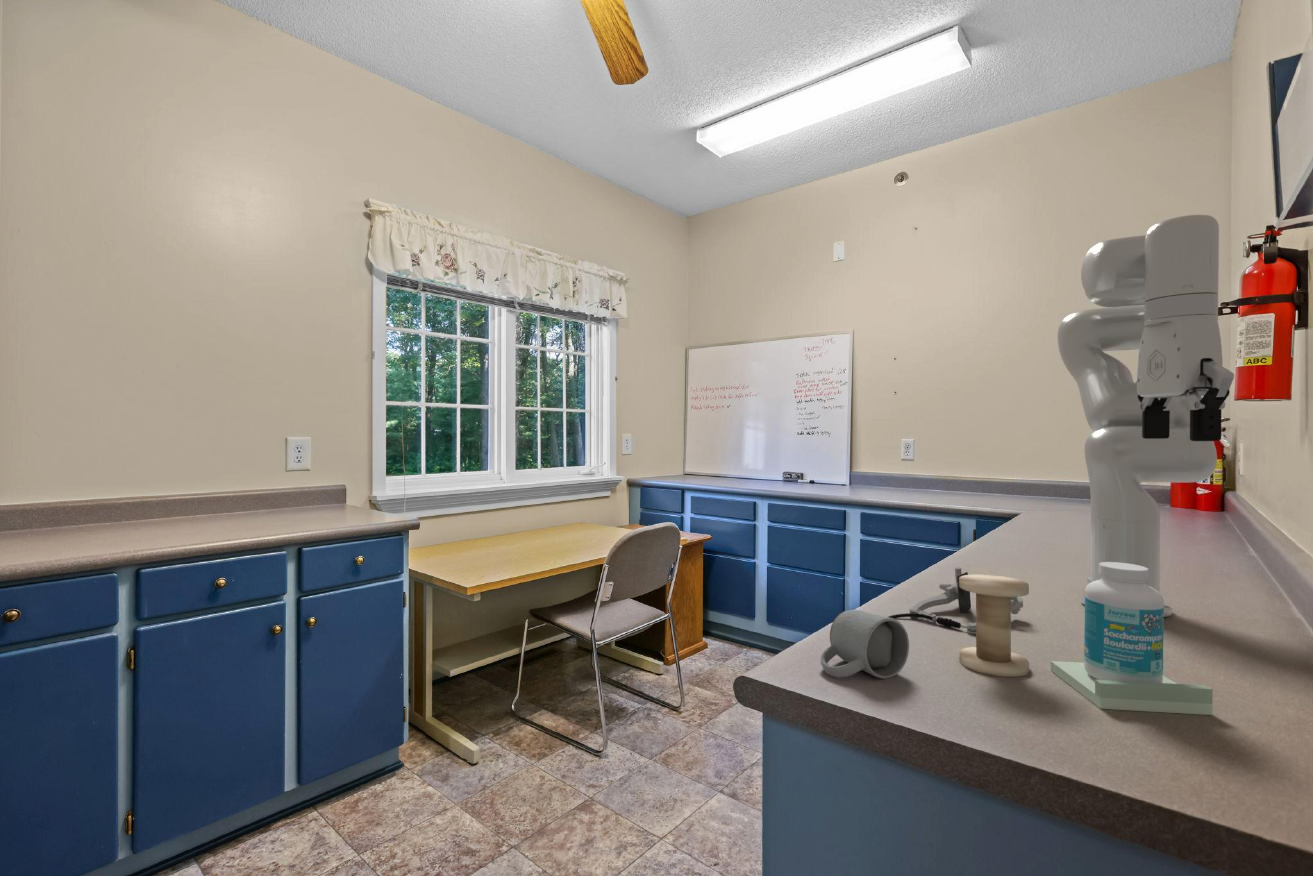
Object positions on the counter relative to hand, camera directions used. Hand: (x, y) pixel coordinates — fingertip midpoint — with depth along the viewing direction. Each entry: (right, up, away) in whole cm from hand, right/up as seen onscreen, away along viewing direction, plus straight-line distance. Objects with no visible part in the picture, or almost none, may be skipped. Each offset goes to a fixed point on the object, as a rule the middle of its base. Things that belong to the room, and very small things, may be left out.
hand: (1179, 439), depth 82 cm
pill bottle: (-16, -29, -10) cm, 34 cm away
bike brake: (-22, -30, +17) cm, 41 cm away
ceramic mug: (-44, -30, -4) cm, 54 cm away
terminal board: (-16, -30, -11) cm, 35 cm away
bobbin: (-26, -30, -2) cm, 40 cm away
